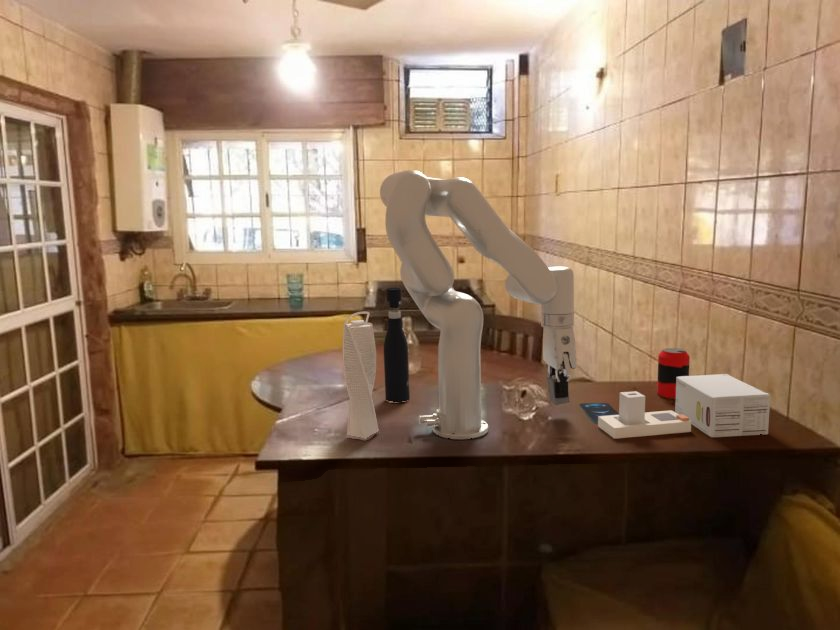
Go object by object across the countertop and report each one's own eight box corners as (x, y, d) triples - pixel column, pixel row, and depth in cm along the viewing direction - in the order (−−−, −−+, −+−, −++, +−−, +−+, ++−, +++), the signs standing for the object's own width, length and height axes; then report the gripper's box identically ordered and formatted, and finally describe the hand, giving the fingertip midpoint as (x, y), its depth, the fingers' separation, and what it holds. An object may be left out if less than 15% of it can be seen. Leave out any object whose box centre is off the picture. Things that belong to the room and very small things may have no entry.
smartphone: (608, 402, 163) (627, 421, 148) (608, 404, 163) (627, 424, 148) (577, 403, 163) (594, 422, 148) (577, 405, 163) (594, 424, 148)
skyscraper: (359, 428, 150) (353, 310, 145) (386, 432, 146) (382, 311, 141) (339, 439, 143) (333, 315, 138) (368, 444, 139) (362, 317, 135)
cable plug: (555, 405, 151) (552, 378, 150) (550, 400, 155) (546, 374, 153) (569, 402, 152) (566, 375, 150) (563, 397, 155) (560, 372, 154)
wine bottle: (383, 398, 172) (378, 287, 168) (405, 395, 174) (402, 286, 169) (389, 404, 166) (384, 290, 161) (412, 402, 168) (409, 289, 163)
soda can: (679, 401, 163) (681, 355, 161) (651, 395, 168) (653, 350, 166) (693, 394, 168) (695, 350, 166) (665, 389, 173) (667, 346, 171)
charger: (627, 432, 141) (628, 397, 139) (618, 426, 144) (619, 392, 143) (644, 431, 141) (645, 395, 140) (635, 425, 145) (636, 390, 144)
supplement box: (673, 413, 154) (675, 375, 152) (726, 410, 155) (728, 373, 153) (710, 438, 137) (712, 396, 136) (769, 435, 138) (771, 393, 137)
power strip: (614, 438, 138) (614, 425, 137) (598, 426, 146) (598, 413, 145) (690, 431, 141) (691, 418, 140) (671, 420, 149) (671, 407, 148)
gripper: (587, 324, 142) (587, 403, 145) (559, 312, 158) (560, 384, 161) (555, 327, 141) (556, 407, 144) (530, 315, 157) (531, 387, 160)
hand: (558, 394), depth 153 cm, fingers closed on cable plug, 3 cm apart
